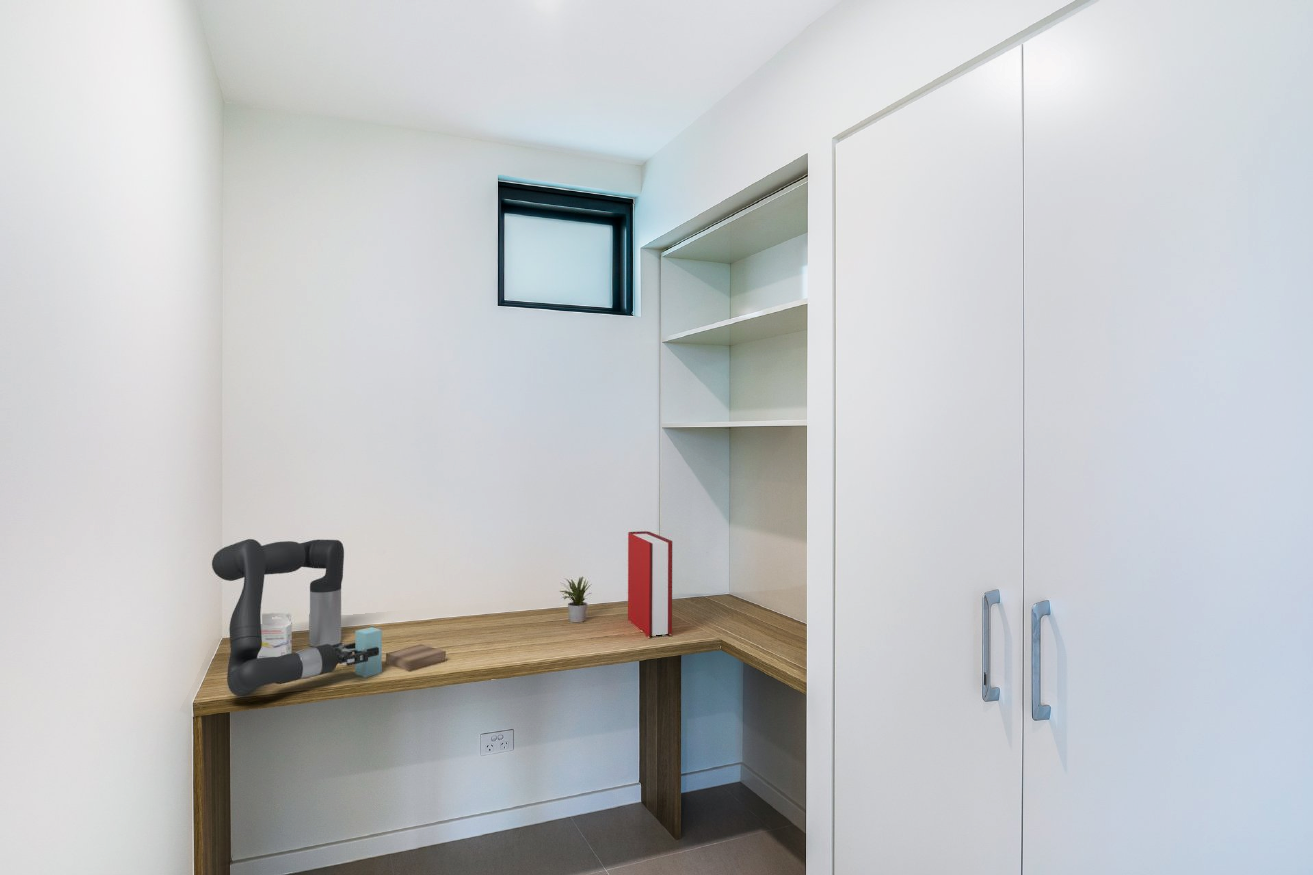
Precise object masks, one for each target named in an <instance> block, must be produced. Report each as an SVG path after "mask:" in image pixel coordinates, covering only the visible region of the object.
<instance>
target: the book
mask: <svg viewBox="0 0 1313 875" xmlns="http://www.w3.org/2000/svg"><path fill="white" fill-rule="evenodd" d="M627 533H628V534H627V535H628V537H627V538H628V539H627V542H628V543H627V554H628V555H627V621H628V620H629V621H631V622H630V623H631V624H632V623H633V624H634V625H635V626H637V627H638V628H639V629H640V630H642V631H643V632H644V633H645V634H646V635H647V636H649V637H651V636H652V637H657V636H656V635H661V634H672V635H673V540H671V539H668V538H666V537H663V536H661V535H659V534H656V533H654V532H651V531H642V530H641V531H628V532H627ZM629 621H628V622H629ZM633 624H632V625H633ZM634 625H633V626H634ZM635 626H634V627H635ZM639 629H638V630H639ZM640 630H639V631H640ZM646 635H645V636H646ZM647 636H646V637H647ZM652 637H651V638H652Z"/></svg>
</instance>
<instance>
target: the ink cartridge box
mask: <svg viewBox="0 0 1313 875" xmlns="http://www.w3.org/2000/svg"><path fill="white" fill-rule="evenodd" d="M276 617H277V618H276ZM292 627H293V624H292V614H291V613H290V612H277V613H275V612H270V613H265V612H264V613H262V614H261V634H262V647H261V650H260V651H259V653H258V656H257V658H264V657H278V656H282V655H286V654H290V653H292V642H293V641H292V634H293V633H292V631H293V630H292V629H293V628H292Z"/></svg>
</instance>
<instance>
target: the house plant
mask: <svg viewBox="0 0 1313 875" xmlns="http://www.w3.org/2000/svg"><path fill="white" fill-rule="evenodd" d="M578 578H579V579H578V580H577V583H575V582H574V580H573V579H570V580H571V581H570V580H569V579H567V578H565V580H566V581H567V582H568V587H569V588H567V590H566V589H565V590H559V592H560V593H562V595H564V596H562V598H561V599H563V600H566V599H569V600H570V601H571V602H568V603H567V607H568V614H569V621H572V622H571V623H573V622H581V623H583V622H582V621H584V622H586V614H587V608H588V602H586V601H585V600H586V596H588V595H590V594H591V592H589V593H588V594H586V596H584V595H585V593H586V591H587V590H588V589H589V588H590V586H591V584H590V585H588V584H589V581H587V578H585V580H584V576H580V577H578ZM583 580H584V582H583ZM582 583H583V585H582ZM576 584H577V585H576ZM561 585H563V586H564V587H566V584H564V583H562V582H561Z"/></svg>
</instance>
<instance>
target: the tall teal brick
mask: <svg viewBox="0 0 1313 875" xmlns="http://www.w3.org/2000/svg"><path fill="white" fill-rule="evenodd" d="M382 634H383V630H382V629H379V628H377V627H372V626H371V627H368V628H362V629H359V630H355V640H354V641H355V642H354V643H355V649H358V650H366V649H370V648H374V647H378V648H379V654H378V655H377V656H373V657H369V658H368V661H367V662H362V663H358V664H354V667H355V668H354V670H355V675H358V676H361V677H364V678H368V677H371V676H375V675H378V674H382V665H383V663H382V658H383V657H382V655H383V654H382V653H383V652H382V649H383V648H382V646H383V644H382V643H383V640H382V639H383V637H382V636H383V635H382ZM360 657H362V655H361V656H360Z"/></svg>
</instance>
